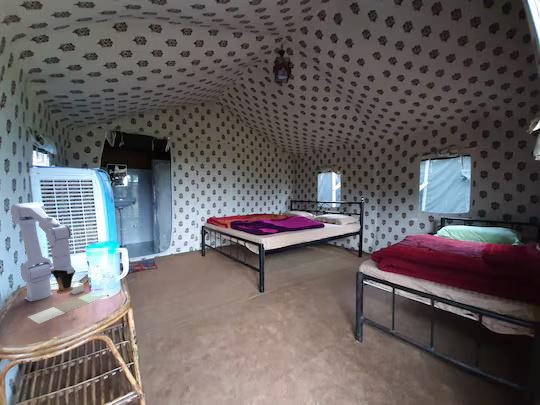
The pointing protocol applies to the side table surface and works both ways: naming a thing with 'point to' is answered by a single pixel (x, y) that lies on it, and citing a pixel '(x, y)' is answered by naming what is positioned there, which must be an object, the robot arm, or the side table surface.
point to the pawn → (61, 288)
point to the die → (77, 288)
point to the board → (64, 308)
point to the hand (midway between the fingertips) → (64, 286)
